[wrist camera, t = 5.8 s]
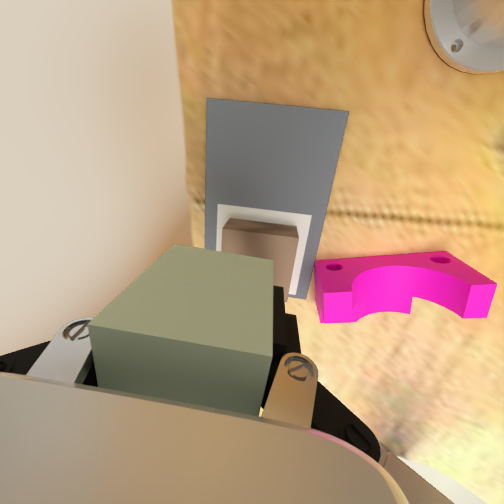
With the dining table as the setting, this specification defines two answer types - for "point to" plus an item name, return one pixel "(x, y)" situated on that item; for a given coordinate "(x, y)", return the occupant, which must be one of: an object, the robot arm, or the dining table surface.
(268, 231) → the walnut base block
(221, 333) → the sage block
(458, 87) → the dining table surface
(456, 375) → the dining table surface
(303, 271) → the slate mat
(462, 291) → the magenta saddle bracket
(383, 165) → the dining table surface
